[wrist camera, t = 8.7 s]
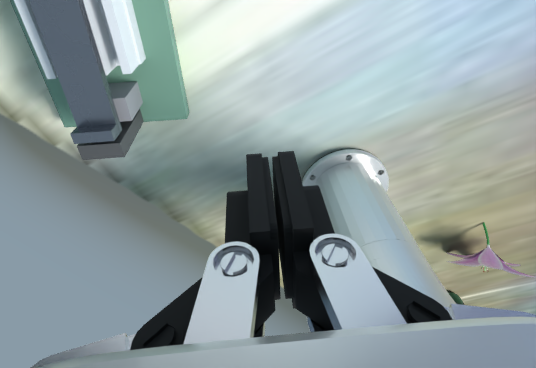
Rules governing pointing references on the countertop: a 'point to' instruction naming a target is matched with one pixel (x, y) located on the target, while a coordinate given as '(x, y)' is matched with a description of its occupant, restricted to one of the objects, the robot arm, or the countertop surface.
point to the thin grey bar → (78, 68)
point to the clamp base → (121, 66)
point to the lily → (487, 260)
